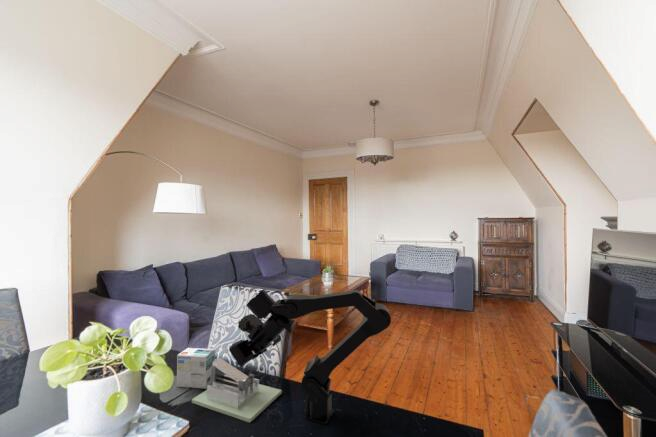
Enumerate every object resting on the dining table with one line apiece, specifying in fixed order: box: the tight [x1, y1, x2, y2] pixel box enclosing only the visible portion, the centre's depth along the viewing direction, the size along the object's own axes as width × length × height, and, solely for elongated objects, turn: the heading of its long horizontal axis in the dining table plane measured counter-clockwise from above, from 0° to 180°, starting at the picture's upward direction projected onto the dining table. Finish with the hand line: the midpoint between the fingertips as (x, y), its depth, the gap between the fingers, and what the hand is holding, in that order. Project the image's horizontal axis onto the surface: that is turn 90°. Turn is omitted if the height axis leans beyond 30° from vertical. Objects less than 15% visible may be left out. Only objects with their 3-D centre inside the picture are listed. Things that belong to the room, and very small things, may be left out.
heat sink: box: [206, 366, 260, 409], centre depth 94 cm, size 13×10×8 cm
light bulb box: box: [176, 347, 216, 390], centre depth 102 cm, size 11×7×11 cm, turn 84°
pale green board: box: [191, 383, 283, 423], centre depth 94 cm, size 22×16×1 cm
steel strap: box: [212, 357, 252, 387], centre depth 94 cm, size 14×3×2 cm, turn 66°
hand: (241, 359), depth 92 cm, fingers closed
